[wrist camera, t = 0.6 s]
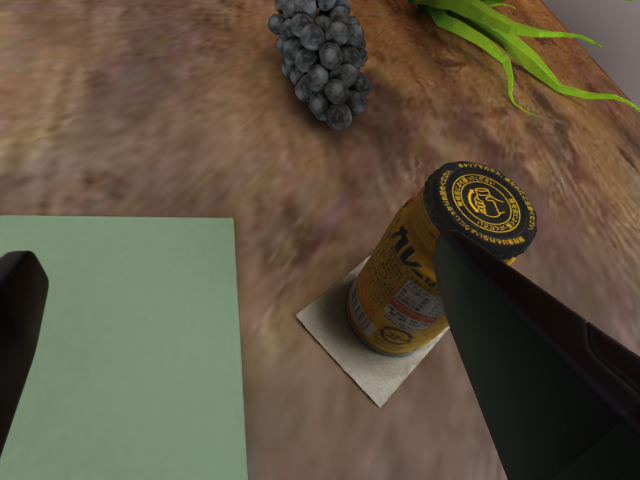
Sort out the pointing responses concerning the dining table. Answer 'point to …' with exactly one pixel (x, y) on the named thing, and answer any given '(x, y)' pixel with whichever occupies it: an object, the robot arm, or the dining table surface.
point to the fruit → (323, 57)
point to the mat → (131, 351)
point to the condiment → (415, 275)
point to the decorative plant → (502, 39)
